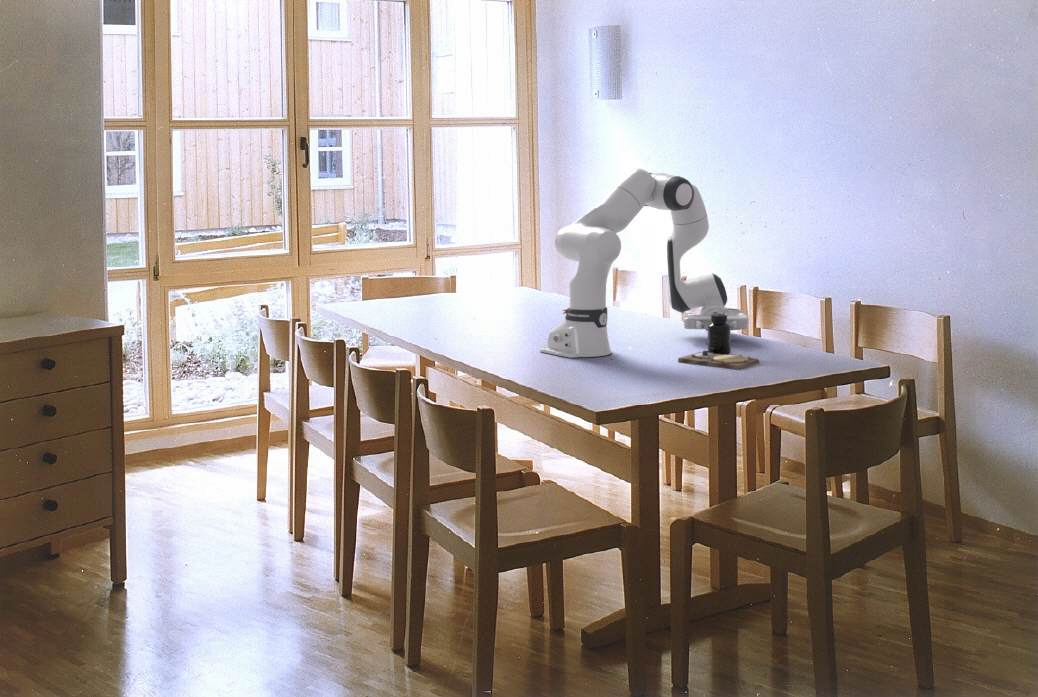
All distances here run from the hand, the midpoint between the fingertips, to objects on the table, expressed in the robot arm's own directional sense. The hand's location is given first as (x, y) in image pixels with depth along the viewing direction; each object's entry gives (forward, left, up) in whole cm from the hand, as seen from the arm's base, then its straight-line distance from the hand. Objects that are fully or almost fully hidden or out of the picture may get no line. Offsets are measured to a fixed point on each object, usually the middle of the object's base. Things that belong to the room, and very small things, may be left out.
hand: (717, 326), depth 378 cm
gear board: (+14, -22, -7) cm, 27 cm away
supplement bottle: (+7, -10, -7) cm, 14 cm away
